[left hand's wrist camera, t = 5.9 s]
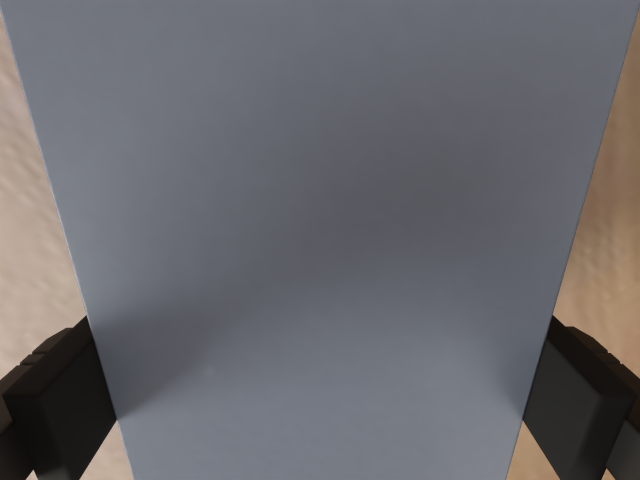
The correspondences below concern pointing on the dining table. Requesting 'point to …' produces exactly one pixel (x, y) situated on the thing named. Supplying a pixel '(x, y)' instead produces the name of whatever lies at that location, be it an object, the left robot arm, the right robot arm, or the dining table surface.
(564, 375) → the left robot arm
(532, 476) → the dining table surface
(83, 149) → the cabinet
